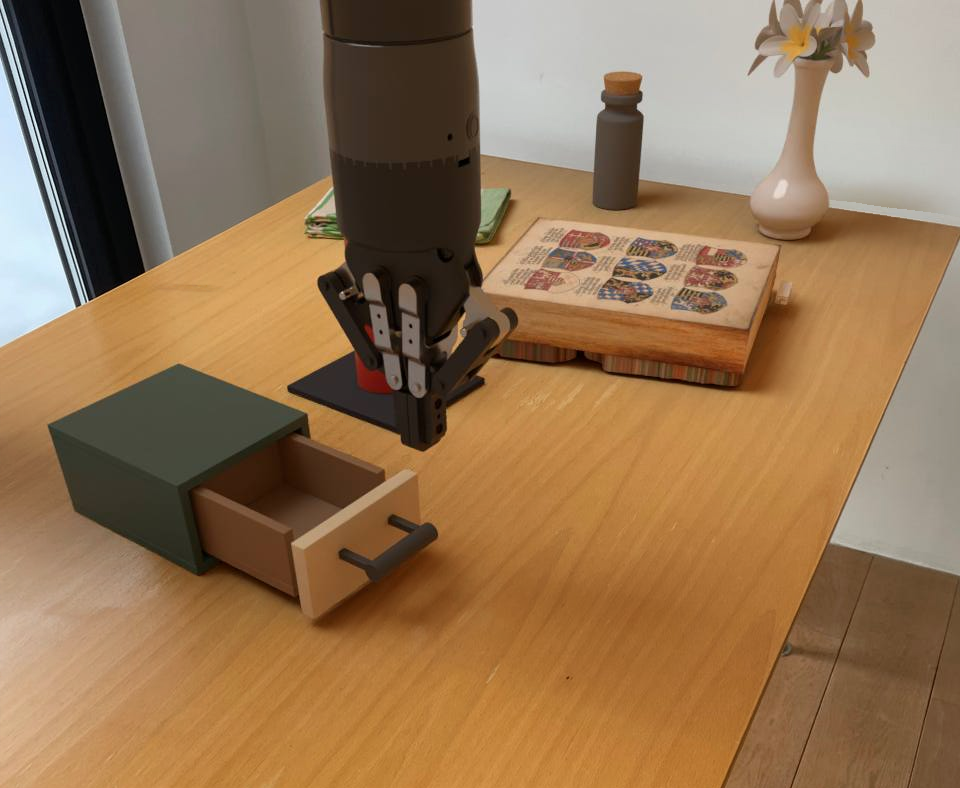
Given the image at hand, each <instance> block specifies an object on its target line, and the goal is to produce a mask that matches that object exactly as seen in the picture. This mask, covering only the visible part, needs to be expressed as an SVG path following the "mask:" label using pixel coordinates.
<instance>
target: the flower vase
mask: <svg viewBox="0 0 960 788" xmlns="http://www.w3.org/2000/svg"><path fill="white" fill-rule="evenodd" d="M823 1H824V0H809V1H808V2H807V4H806V5H805V7H804V10H803V7H802V3H801V1H800V0H783V3H782V7H781V9H780V11H779V17H778V13H777V7H776V0H772V2H771V4H770V9H769V14H768V24H767V25H765V26H763V28H762V29H761V30H760V32H759V33H758V35H757V37H756V38H755V42H754V50H756V51H758V55H757V56H756V57H755V58H754V61H753V62H752V63H751V66H750V68H749V70H748V73H747V77H750V75H751V74H752V73H753V72H755V70H756V69H757V68H758V67H759V66H760V65H761V64H762V63H763V62H764V61H766V59H767V58H769V57H774V56H775V57H776V56H780V57H779V58H777V60H776V62H775V65H774V67H773V77H774V78H775V79H776V78H778V79H779V78H781V77H782V76H783V75H784V74H785V73H786V72H787V71H788V70H789V68H790V66H791V65H792V64H793V67H794V68H793V69H794V91H793V98H792V99H793V100H792V106H791V111H790V117H789V122H788V127H787V132H786V136H785V139H784V143H783V148H782V151H781V154H780V156H779V158H778V160H777V162H776V163H775V165H774V167H773V169H771V171H770V172H769V174H767V175H766V176H764V178H763V179H762V180H760V181H759V182H758V183H757V184H756V186H755V188H754V189H753V191H752V193H751V195H750V197H749V200H748V206H749V210H750V213H751V215H752V217H753V218H754V219H755V220H756V222H758V223H759V224H758V230H759V233H761V234H762V235H763V236H765V237H768V238H770V239H775V240H784V241H793V240H794V241H795V240H801V239H804V238H807V237H808V236H809V235H810V234H811V231H812V228H813V227H815V226H816V225H817V224H819V223H820V222H821V221H822V220H823V219H824V218H825V217H826V215H827V213H828V211H829V208H830V196H829V193H828V190H827V188H826V186H825V185H824V183H823V181H822V180H821V179H820V177H819V176H818V173H817V169H816V164H815V157H814V156H815V155H814V151H815V149H814V148H815V147H814V146H815V138H816V137H815V136H816V130H817V123H818V116H819V110H820V104H821V98H822V95H823V91H824V87H825V84H826V81H827V78H828V76H829V73H830V72H831V73H832V74H839V73H840V72H841V71H842V69H843V67H844V57H843V56H845V58H846V61H847V63H848V65H849V66H850V67H851V68H853V67H854V66H856V67H857V69H858V70H859V71H860V72H861V74H862V75H863V76H864V77H865V78H867V79H868V78H869V77H870V66H869V63H868V61H867V60H868V55H867V52H866V51H868V50H870V49H872V48H873V47H874V46H875V43H876V35H875V33H874V32H873V29H874V27H873V26H874V25H873V23H872V22H871V21H869V20H866V19H863V16H864V4H863V0H857V1H856V3H855V5H854V8H853V10H852V13H851V14H850V13H849V8H848V3H847V1H846V0H832V1H831V2H830V3H829V4H828V6H827V8H826V9H825V12H821V11H822V4H823ZM778 18H779V19H778Z"/></svg>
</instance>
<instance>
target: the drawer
mask: <svg viewBox="0 0 960 788" xmlns="http://www.w3.org/2000/svg"><path fill="white" fill-rule="evenodd" d="M419 486H420V485H419V474H418V473H417V472H416V471H414V470H410V469H408V468H404V469H402V470H400V471H399V472H397V473H396V474H395V475H393V476H391V477H390V478H388V479H387V480H386V469H385V468H384V467H380V466H379V465H376V464H373V463H371V462H368V461H366V460H363V459H361V458H358V457H356V456H354V455H351V454H348V453H346V452H344V451H341V450H338V449H337V448H334V447H331V446H328V445H326V444H325V443H321V442H320V441H317V440H314V439H312V438H311V439H309V438H307V437H304V436H302V435H299V434H297V433H294V432H291V433H290V434H288V435H286V436H284V437H282V438H281V439H279V440H277V441H275V442H274V443H272V444H270V445H268V446H267V447H265V448H263V449H261V450H260V451H258V452H256V453H254V454H252V455H251V456H249V457H247V458H245V459H244V460H242V461H240V462H238V463H237V464H235V465H233V466H231V467H229V468H228V469H226V470H224V471H222V472H221V473H219V474H217V475H215V476H214V477H212V478H210V479H208V480H207V481H205V482H203V483H201V484H199V485H198V486H196V487H194V488H192V489H191V490H189V491H188V494H189V498H190V502H191V507H192V511H193V516H194V520H195V524H196V529H197V533H198V537H199V542H200V546H201V550H202V551H204V552H206V553H208V554H210V555H212V556H214V557H216V558H218V559H220V560H222V561H221V562H223V563H226V564H228V565H230V566H232V567H234V568H236V569H238V570H240V571H242V572H244V573H245V574H248V575H250V576H252V577H253V578H256V579H258V580H260V581H261V582H264V583H266V584H267V585H269V586H271V587H273V588H276V590H280V591H281V592H283V593H285V594H287V595H289V596H291V597H292V598H296V597H297V596H299V601H300V607H301V608H300V609H301V613H302V614H303V615H305V616H307V617H308V618H311V619H313V620H316V619H317V618H318V617H320V616H322V614H324V613H325V612H326V611H328V610H329V609H331V608H332V607H334V606H335V605H337V603H339V602H340V601H342V600H343V599H344V598H346V597H347V596H348V595H350V594H352V592H354V591H355V590H357V589H358V588H359V587H361V586H362V585H364V584H365V583H367V582H368V581H369V580H370V581H371V582H373V583H380V582H381V581H384V579H386V578H387V577H388V576H390V575H391V574H392V573H394V572H395V571H396V570H397V569H399V568H400V567H402V566H403V565H405V564H406V563H408V561H410V560H411V559H412V558H413V557H415V556H417V555H418V554H419V553H421V552H422V551H423V550H425V549H426V548H428V547H429V546H431V544H433V543H434V542H436V540H438V538H439V531H438V529H437V527H436V526H435V525H434V524H433V523H431V522H428V521H426V522H423V523H422V520H421V505H420V502H421V501H420V487H419Z"/></svg>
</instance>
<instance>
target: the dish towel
mask: <svg viewBox="0 0 960 788" xmlns="http://www.w3.org/2000/svg"><path fill="white" fill-rule="evenodd" d="M511 198H512V189H511V188H509V187H493V188H481V224H480V227H479V230H478V233H477V237H476V242H475V244H480V245H481V244H489V243H490V242H491V241H492V239H493V237H494V236H495V234H496V232H497V230H498V228H499V226H500V224H501V222H502V219H503V217H504V215H505V212H506V210H507V207H508V205H509V203H510V200H511ZM303 224H304V225H305V226H306V229H305V230H304V235H307V236H309V237H310V238H312V239H313V238H314V239H315V238H326V239H340V240H341V239H342V240H344V237H343V236H342V234H341V233H340V231H339V229H338V226H337V219H336V209H335V199H334V189H333V185H332V186H331V187H330V188H329V190H328V191H327V192H326V193H325V194H324V195H323V196H322V198H321V199H320V200H319V201H318V202H317V204H316V205H315V206H314V207H313V208H312V209H310V211H309V212H308V214H307V215H306V216H305V217H304V219H303Z"/></svg>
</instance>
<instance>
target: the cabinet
mask: <svg viewBox="0 0 960 788" xmlns="http://www.w3.org/2000/svg"><path fill="white" fill-rule="evenodd" d="M309 422H310V421H309V413H307V412H306V411H302V410H300V409H297V408H295V407H292V406H289V405H287V404H285V403H282V402H279V401H278V400H277V401H276V400H274V399H272V398H270V397H266V396H264V395H261V394H260V393H259V394H258V393H256V392H255V391H251V390H248V389H247V388H246V389H245V388H243V387H240V386H239V385H235V384H233V383H231V382H228V381H225V380H223V379H220V378H218V377H215V376H212V375H211V374H207V373H205V372H203V371H200V370H197V369H194V368H192V367H189V366H187V365H184V364H182V363H179V362H178V363H176V364H174V365H172V366H170V367H167V368H165V369H164V370H161V371H159V372H157V373H155V374H153V375H150V376H148V377H146V378H144V379H142V380H140V381H138V382H136V383H134V384H131V385H129V386H127V387H125V388H123V389H121V390H118V391H116V392H114V393H111V394H109V395H108V396H106V397H103V398H101V399H99V400H97V401H95V402H93V403H90V404H89V405H87V406H84V407H81V408H80V409H77V410H75V411H73V412H71V413H69V414H67V415H64V416H63V417H61V418H59V419H56V420H54V421H52V422H50V423H48V424H46V425H47V429H48V432H49V434H50V437H51V441H52V445H53V447H54V450H55V453H56V457H57V459H58V464H59V466H60V470H61V473H62V476H63V479H64V482H65V485H66V488H67V491H68V494H69V498H70V501H71V504H72V507H73V510H74V512H77V513H79V514H80V515H82V516H84V517H86V518H88V519H90V520H92V521H94V522H95V523H97V524H99V525H101V526H103V527H105V528H106V529H109V530H110V531H113V532H114V533H116V534H118V535H120V536H122V537H124V538H126V539H128V540H129V541H131V542H133V543H135V544H137V545H139V546H141V547H142V548H145V549H147V550H148V551H150V552H151V553H154V554H156V555H158V556H159V557H162V558H164V559H165V560H168V561H170V562H171V563H174V564H175V565H177V566H179V567H181V568H183V569H185V570H187V571H189V572H190V573H193V574H194V575H196V576H200V575H202V574H203V573H204V572H206V571H208V570H209V569H212V568H213V567H214V566H216V565H217V564H220V562H223V561H222V560H220V559H218V558H216V557H214V556H212V555H210V554H208V553H206V552H204V551H202V550H201V546H200V542H199V537H198V533H197V529H196V524H195V520H194V516H193V511H192V507H191V502H190V498H189V494H188V491H189V490H191V489H192V488H194V487H196V486H198V485H199V484H201V483H203V482H205V481H207V480H208V479H210V478H212V477H214V476H215V475H217V474H219V473H221V472H222V471H224V470H226V469H228V468H229V467H231V466H233V465H235V464H237V463H238V462H240V461H242V460H244V459H245V458H247V457H249V456H251V455H252V454H254V453H256V452H258V451H260V450H261V449H263V448H265V447H267V446H268V445H270V444H272V443H274V442H275V441H277V440H279V439H281V438H282V437H284V436H286V435H288V434H290V433H291V432H294V433H297V434H299V435H302V436H304V437H307V438H309V439H312V437H311V430H310V423H309Z"/></svg>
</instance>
